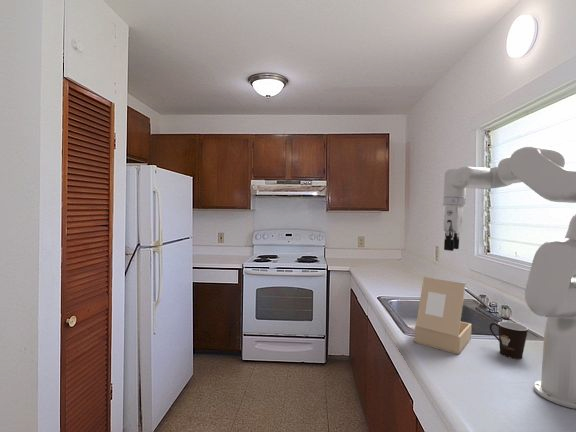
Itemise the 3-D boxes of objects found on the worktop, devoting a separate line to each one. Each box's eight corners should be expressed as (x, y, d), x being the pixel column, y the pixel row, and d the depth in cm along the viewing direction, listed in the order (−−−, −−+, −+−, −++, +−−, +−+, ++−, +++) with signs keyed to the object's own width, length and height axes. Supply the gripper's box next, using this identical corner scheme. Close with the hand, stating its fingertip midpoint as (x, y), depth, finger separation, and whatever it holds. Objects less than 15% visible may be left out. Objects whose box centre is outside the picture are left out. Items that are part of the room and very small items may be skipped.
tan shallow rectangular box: (470, 339, 131) (471, 323, 131) (459, 354, 117) (459, 337, 117) (429, 329, 140) (430, 314, 140) (414, 342, 126) (415, 325, 126)
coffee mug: (532, 361, 114) (534, 331, 114) (505, 359, 114) (507, 329, 114) (510, 346, 126) (512, 319, 125) (486, 345, 126) (488, 318, 126)
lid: (465, 284, 121) (464, 283, 121) (458, 336, 117) (457, 336, 116) (424, 277, 130) (423, 277, 129) (416, 326, 126) (415, 325, 125)
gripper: (459, 202, 122) (456, 252, 122) (470, 203, 135) (467, 248, 136) (436, 201, 126) (434, 250, 127) (449, 202, 140) (447, 246, 141)
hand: (451, 249), depth 131 cm, fingers open, 6 cm apart
